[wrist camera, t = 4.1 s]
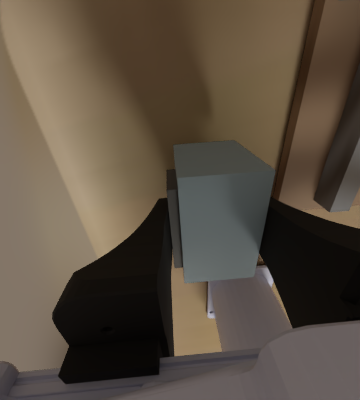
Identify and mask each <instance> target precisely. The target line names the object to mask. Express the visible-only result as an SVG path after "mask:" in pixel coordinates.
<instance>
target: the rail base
mask: <svg viewBox="0 0 360 400" xmlns="http://www.w3.org/2000/svg"><path fill="white" fill-rule="evenodd" d="M273 198H274V199H276V200H278V201H280V202H283V203H285V204H287V205H289V206H291V207H294V208H296V209H298V210H308V209H320V208H325V209H326V210H327V211H329V212H339V211H349V210H350V207H351V206H355V205H360V0H315V2H314V7H313V11H312V16H311V21H310V25H309V30H308V35H307V39H306V44H305V49H304V53H303V58H302V63H301V67H300V72H299V77H298V81H297V86H296V91H295V95H294V100H293V105H292V110H291V114H290V119H289V124H288V128H287V133H286V138H285V142H284V147H283V152H282V156H281V161H280V166H279V170H278V175H277V180H276V184H275V189H274V194H273Z"/></svg>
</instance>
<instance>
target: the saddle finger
mask: <svg viewBox="0 0 360 400" xmlns="http://www.w3.org/2000/svg"><path fill="white" fill-rule="evenodd" d="M173 148H174V161H175V169H172V170H167V199H168V208H169V218H170V228H171V237H172V247H173V256H174V266H175V268H180V267H183V270H184V281H185V283H194V282H205V281H216V280H227V279H238V278H249V277H254V275H255V270H256V265H257V260H258V255H259V250H260V245H261V240H262V235H263V231H264V226H265V221H266V216H267V211H268V206H269V201H270V196H271V191H272V186H273V181H274V176H275V171H276V170H275V169H273V168H272V167H270V166H269V165H268V164H266V163H265V162H263V161H262V160H261V159H259V158H258V157H257V156H255V155H254V154H252V153H251V152H250V151H248V150H247V149H246V148H244V147H243V146H241V145H240V144H239V143H237V142H236V141H235V140H230V141H216V142H203V143H189V144H175V145H173Z"/></svg>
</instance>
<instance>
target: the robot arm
mask: <svg viewBox="0 0 360 400" xmlns="http://www.w3.org/2000/svg"><path fill="white" fill-rule="evenodd" d="M172 249H173V247H172V237H171V228H170V218H169V208H168V199H167V198H160V199H158V201H157V202H156V204H155V206H154V207H153V209H152V211H151V212H150V213H149V215H148V216H147V218H146V219H145V220H144V221H143V222H142V224H141V225H140V226H139V227H138V228H137V229H136V230H135V231H134V233H132V234H131V235H130V236H129V237H128V238H127V239H126V240H124V241H123V242H122V243H121V244H119V245H118V246H117V247H116V248H114V249H113V250H111V251H110V252H109V253H107V254H105V255H104V256H102V257H101V258H99V259H98V260H96V261H94V262H92V263H91V264H89V265H87V266H85V267H83V268H81V269H80V270H78V271H76V272H74V273H73V275H72V277H71V279H70V280H69V282H68V283H67V285H66V287H65V289H64V291H63V293H62V295H61V297H60V299H59V301H58V303H57V305H56V307H55V309H54V311H53V315H52V319H53V322H54V324H55V326H56V328H57V329H58V331H59V332H60V333H61V335H62V336H63V338H64V339H65V340H66V342H67V343H68V345H69V348H68V351H67V354H66V356H65V359H64V361H63V364H62V366H61V368H56V369H55V368H54V369H44V370H34V371H24V372H19V371H18V369H17V368H16V367H15V366H14V365H13V364H11V363H9V362H5V361H0V400H360V229H358V228H354V227H350V226H346V225H343V224H339V223H335V222H332V221H329V220H326V219H323V218H320V217H317V216H314V215H311V214H308V213H306V212H303V211H301V210H298V209H296V208H294V207H291V206H289V205H287V204H285V203H283V202H280V201H278V200H276V199H274V198H272V197H270V201H269V206H268V211H267V216H266V221H265V226H264V231H263V235H262V240H261V245H260V250H259V254H260V255H261V257H262V259H263V261H264V262H265V264H266V265H261V266H256V270H255V275H254V277H249V278H238V279H227V280H216V281H208V299H207V316H208V318H215V319H216V324H217V329H218V334H219V338H220V343H221V348H222V352H215V353H205V354H195V355H185V356H175V357H174V341H173V319H172V294H171V266H172ZM273 281H274V283H275V285H276V288H277V290H278V292H279V295H280V297H281V300H282V302H283V304H284V307H285V310H286V312H287V315H288V318H289V320H290V322H289V320H288V318H287V317H286V315H285V313H284V311H283V309H282V307H281V305H280V303H279V302H278V300H277V298H276V296H275V294H274V292H273V290H272V288H271V287H272V284H273ZM290 323H291V324H290ZM291 325H292V326H291Z"/></svg>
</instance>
